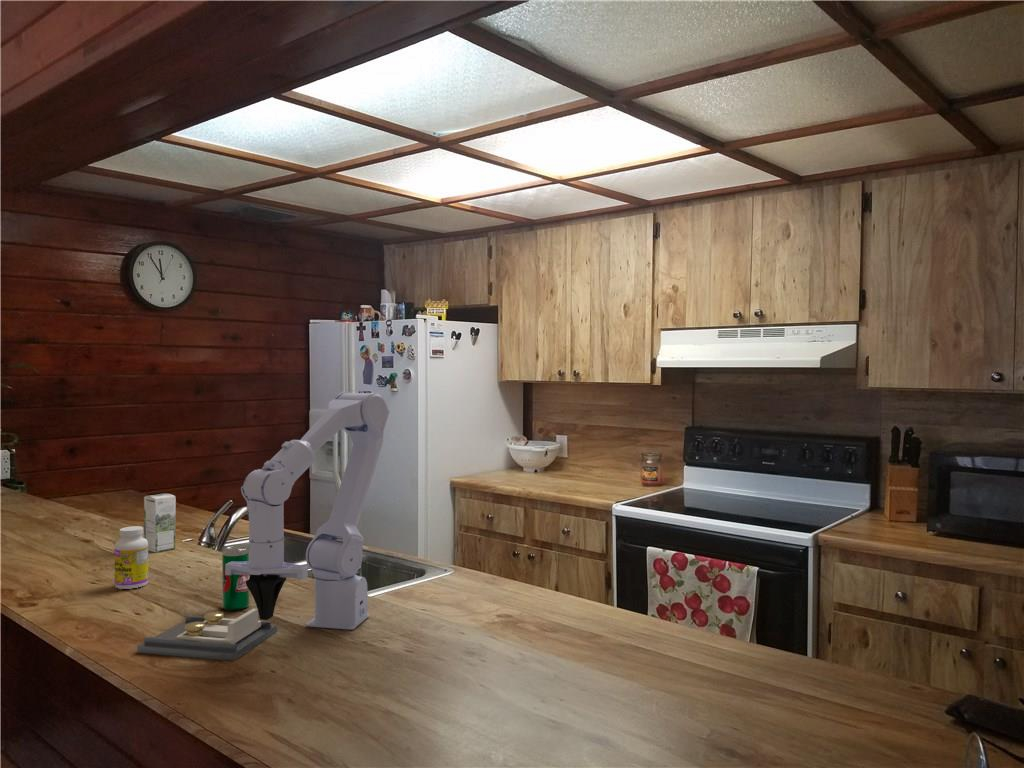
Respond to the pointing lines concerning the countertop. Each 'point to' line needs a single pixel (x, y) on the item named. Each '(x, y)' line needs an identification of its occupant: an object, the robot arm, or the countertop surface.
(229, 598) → the soda can
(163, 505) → the syrup box
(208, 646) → the boss plate
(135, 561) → the supplement bottle
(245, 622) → the panel
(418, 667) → the countertop surface
